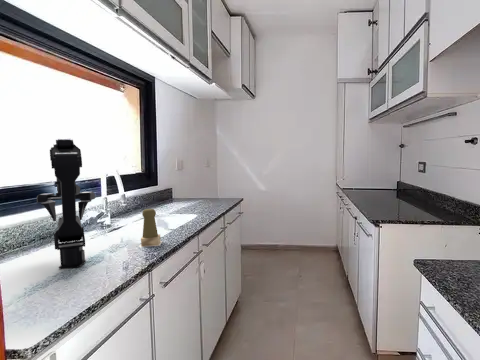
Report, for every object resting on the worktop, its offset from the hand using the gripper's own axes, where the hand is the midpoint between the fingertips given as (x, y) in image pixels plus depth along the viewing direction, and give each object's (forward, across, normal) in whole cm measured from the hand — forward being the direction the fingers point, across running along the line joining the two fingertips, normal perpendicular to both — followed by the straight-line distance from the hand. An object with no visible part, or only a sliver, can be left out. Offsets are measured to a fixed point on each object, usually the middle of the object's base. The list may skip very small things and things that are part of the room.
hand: (68, 220), depth 134 cm
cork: (+10, -28, -9) cm, 31 cm away
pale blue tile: (+13, -25, -9) cm, 30 cm away
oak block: (+12, -28, -9) cm, 32 cm away
